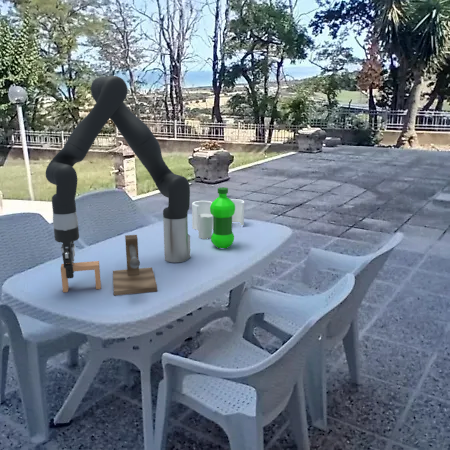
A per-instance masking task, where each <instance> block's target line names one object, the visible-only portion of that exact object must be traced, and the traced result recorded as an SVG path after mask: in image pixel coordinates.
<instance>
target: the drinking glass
mask: <svg viewBox="0 0 450 450" xmlns="http://www.w3.org/2000/svg"><path fill="white" fill-rule="evenodd" d="M212 217H213V215H211V214H199V215H198V231H197V232H198V238H199V239H200V238H202V239H201V240H208V239H207V238H210V239H211V237H212V234H213V230H212Z"/></svg>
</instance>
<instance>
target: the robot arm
mask: <svg viewBox="0 0 450 450" xmlns="http://www.w3.org/2000/svg"><path fill="white" fill-rule="evenodd" d="M90 93H91V96H92V98H93V100H94V102H96V103H95V104H94V106H93V107H92V109H91V110H90V111H89V112H88V114H87V115H86V116H85V117H84V118H82V120H81V121H80V122H79V123H78V124H77V125H76V126H75V128H74V129H73V131H72V132H71V133H70V135H69V136H68V138H67V140H66V142H65V144H64V146H63V147H62V149H60V150H59V151H58V152H57V154H56V155H54V157H53V158H52V159H51V161H50V162H49V163H48V165H47V166H46V169H45V178H46V180H47V181H48V182H49V184H52V185H55V186H56V187H55V188H56V189H55V190H56V191H55V194H53V195H52V196H51V204H52V205H51V206H52V226H53V234H54V236H53V237H54V240H55V242H57V243H60V244H61V243H62V244H61V246H60V251H61V256H62V257H61V258H62V262H63V264H64V268H66V278H68V279H73V278H74V276H75V275H74V273H75V271H73V263H75V255H76V254H75V253H76V252H75V248H76V247H75V243H74V242H76V241H78V240H79V238H80V230H79V221H78V220H79V219H78V214H77V208H76V207H77V204H76V196H77V195H76V194H77V188H78V173H77V171H76V169H75V168H74V165H76V163H77V164H78V163H80V162H82V161H83V160H84V159H85V158H86V156H87V154H88V152H89V151H90V149H91V148H92V146H93V144H94V142H95V140H97V137H98V136H99V134H100V133H101V131H102V129H103V128H104V126H105V125H106V124H107V123H108V122H109V120H111V121H112V123H113V124H114V126H115V127H116V128H117V130H118V132H119V133H120V135H121V136H122V137H123V139H124V140H125V142H126V143H127V144H128V146H129V148H130V149H131V150H132V152H133V153H134V154H135V156H136V157H137V158H138V160H139V161H140V163H141V164H142V165H143V166H144V168H145V169H146V170H147V172H148V173H149V175H150V176H151V177H150V178H152V180H153V182H154V184H155V185H156V188H157V190H158V191H159V193H160V194H161V195H163V197H165V198H168V206H166V207H165V208H163V211H162V214H163V215H162V216H163V217H162V219H163V220H162V221H163V222H162V223H163V246H164V247H163V248H164V249H163V250H164V261H166V262H167V263H183V262H187V260H189V259H191V235H190V234H189V229H188V227H189V226H188V223H189V221H188V218H189V217H188V212H189V210H190V200H191V199H190V196H191V188H190V187H191V186H190V182H189V180H188V179H187V178H186V177H185V176H182V175H180V174H175V173H174V172H173V171H172V170H171V169H170V167H168V165H167V164H166V162H165V161H164V159H163V155H162V150H161V149H162V148H161V145H160V143H159V141H158V139H157V138H156V136H155V135H154V133H153V132H152V130H151V128H150V127H149V126H148V125H147V124H146V123H145V122H144V121H142V120H141V119H140V118H139V117H137V115H135V114H134V113H133V112H132V111H131V110H130V109H129V108H128V106H127V105H126V104H125V100H126V98H127V95H128V85H127V83H126V81H125V80H124V79H123V78H122V77H119V76H117V75H105V76H99V77H97V78H95V79H93V80H92V82H91V85H90ZM66 263H70V264H66Z"/></svg>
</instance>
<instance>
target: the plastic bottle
mask: <svg viewBox="0 0 450 450" xmlns="http://www.w3.org/2000/svg"><path fill="white" fill-rule="evenodd" d="M217 194H218V197H217V198H215V199H214V200H213V201H211V202H212V204H211V206H210V212H211V214H212V215H213V230H212V237H211V238H210V241H211V243H212V245H213V246H215V247H216V248H217V247H218V248H217V249H219V248H226V249H228V248H227V247H229V248H230V247H231V246H232V245H233V243H234V240H235V235H234V232H233V223H232V216H233V215H234V213H235V204H234V202H232V201H231V200H230V198H229V197H228V195H227V194H229V188H228V187H223V186H222V187H218V188H217Z"/></svg>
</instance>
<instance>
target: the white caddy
mask: <svg viewBox="0 0 450 450" xmlns="http://www.w3.org/2000/svg"><path fill="white" fill-rule="evenodd" d="M229 199H230V198H229ZM230 200H231V201H232V202H234V204H235V213H234V215H233V216H232V222H240V223H241V224H240V226H241V225H244V226H245V201H244V200H243V199H240V198H239V199H238V198H237V199H236V198H232V199H230ZM212 202H213V201H210V200H197V201H193V202H192V203H191V213H192V214H191V217H192V219H191V221H192V222H191V223H192V225H191V226H192V227H191V228H192V229H193V230H194V229H196V230H198V215H199V214H211V212H210V206H211V204H212ZM211 215H212V214H211ZM212 229H213V217H212ZM196 230H195V231H196Z"/></svg>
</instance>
